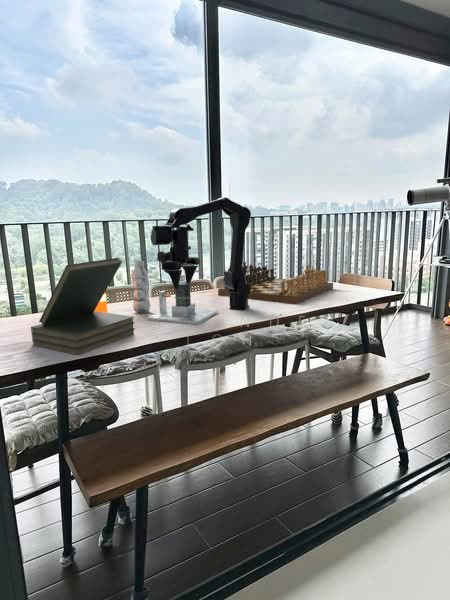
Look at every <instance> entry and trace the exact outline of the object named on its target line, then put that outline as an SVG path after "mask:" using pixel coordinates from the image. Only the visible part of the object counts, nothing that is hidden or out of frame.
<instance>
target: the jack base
mask: <svg viewBox="0 0 450 600" xmlns="http://www.w3.org/2000/svg"><path fill="white" fill-rule="evenodd" d="M166 292H167V291H166V290H161V291H158V301H159V302H158V303H159V304H158V305H159V312H157V313H155V314H153V315H149V316H148V317H147V321H156V322H164V323H165V322H167V323H178V324H188V325H198V324H201V323H202V322H204V321H206V320H208V319H210V318H211V317H213V316H215V315H217V314H218V313H219V310H218V309H207V308H206V309H204V308H196V303H195V302H194V303H193V302H191V304H190V305H188V306H176V303H175V304H172V305H171V307H170V308H168V307H167V298H171V294H167V293H166Z"/></svg>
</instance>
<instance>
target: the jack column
mask: <svg viewBox="0 0 450 600" xmlns="http://www.w3.org/2000/svg"><path fill="white" fill-rule="evenodd" d="M174 293H175V297H174V299H175V304H176V306H188V305H190V304H191V303H192V300H191V297H192V295H191V282H190V283H186V282H183V281H182V282H181V281H180V282H179V286H178V289H175V288H174Z"/></svg>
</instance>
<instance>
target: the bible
mask: <svg viewBox="0 0 450 600" xmlns="http://www.w3.org/2000/svg"><path fill="white" fill-rule="evenodd" d="M122 264H123V261H122V260H121V258H119V257H114V258H108V259H107V258H106V259H100V260H93V261H86V262H77V263H71V264H66V266H65V268H64V269H63V272H62V273H61V276H60V278H59V280H58V282H57V283H56V286H55V288H54V290H53V291H52V294H51V295H50V298H49V301H48V303H47V304H46V306H45V309H44V311H43V312H42V315H41V317H40V318H39V320H38V323H41V324H36V325H34V326H30V333H31V339H32V347H39V348H44V349H48V350H53V351H58V352H63V353H67V354H71V355H76V356H80V355H82V354H85V353H88V352H90V351H93V350H97V349H99V348H101V347H104V346H107V345H109V344H112V343H114V342H117V341H120V340H123V339H125V338H128V337H131V336H134V334H135V327H134V324H135V322H134V316H131V315H127V314H126V315H125V314H117V313H110V312H107V313H104V312H97V311H95V309H96V307H97V305H98V304H99V302H100V300H101V298H102V297H103V295H104V293H105V291H107V290H108V288H109V286H110V284H111V282H112V281H113V278H114V277H115V276H116V273H117V272H118V270H119V268H120V267H121V265H122Z"/></svg>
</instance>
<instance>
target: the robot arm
mask: <svg viewBox="0 0 450 600" xmlns="http://www.w3.org/2000/svg"><path fill="white" fill-rule="evenodd" d="M216 211H217V212H218V211H222V212H223V213H224V214H225V215H226V216H228V217H229V223H230V226H231V229H232V235H231V247H230V260H229V267H228V269H227V270H224V271H223V278H222V281H223V282H224V286H225V285H226V287H227V288H228V290H229V292H232V293H231V296H230V297H229V310H237V311H238V310H240V311H243V310H244V311H245V310H247V309H248V308H250V305H249V299H248V294H250V291H251V288H250V287H249V286H248V285H247V284H246V283H245V275H244V272H243V269H242V266H243V262H244V259H243V258H244V249H245V235H246V231H247V228H248V227H249V225H250V221H251V216H252V212H251V210H250V209H249V208H248V207H247V206H242V205H241V204H239V203H237V202H235V201H232V200H231V199H230V198H228V197H219V198H218V199H213V200H210V201H207V202H204V203H201V204H197V205H195V206H190V207H189V206H188V207H181V208H180V207H179V208H173V209H171V211H170V213H169V215H168V216H169V217H168V218H167V220H166V222H165V224H164V225H152V226H151V227H152V229H151V232H150V241H151V244H152V246H166V245H168V246H169V245H170V244H171V243H172V246H171V247H170V248H169V251H168V252H167V251H166V252H164V251H163V250H162V251H158V252H157V255H156V256H157V258H156V260H157V261H158V262H160V266H161V271H163V272H164V273H166V274H168V275H169V277H170V280H171V282H172V285H173V288H174V290H175V289H178V286H179V283H180V282H181V277H182V273H183V271H184V275H185V277H184V278H185V283H190V284H191V282H192V280H193V277H194V275H195V273H196V271H197V268H198V267H199V265H200V264H201V262H200V258H199V257H198V256H190V252H189V251H190V250H191V249H192V246H191V245H190V246H189V244H190V243H189V232H193V231H194V228H193V227H192V226H191V225H190V224H189V223H191V222H192V221H194V220H195V219H197V218H199V217H201V216H204V215H207V214H210V213H213V212H216Z"/></svg>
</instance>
